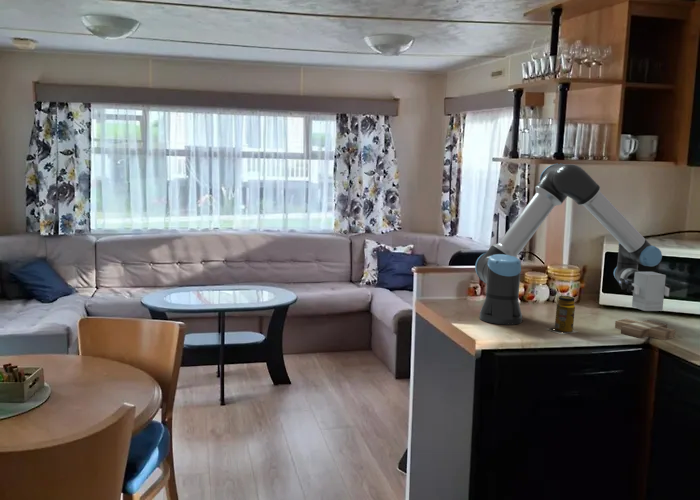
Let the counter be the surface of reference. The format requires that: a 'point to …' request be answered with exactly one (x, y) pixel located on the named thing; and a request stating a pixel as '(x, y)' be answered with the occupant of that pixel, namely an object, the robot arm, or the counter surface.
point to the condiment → (564, 315)
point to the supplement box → (649, 291)
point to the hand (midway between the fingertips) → (652, 291)
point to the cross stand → (644, 329)
